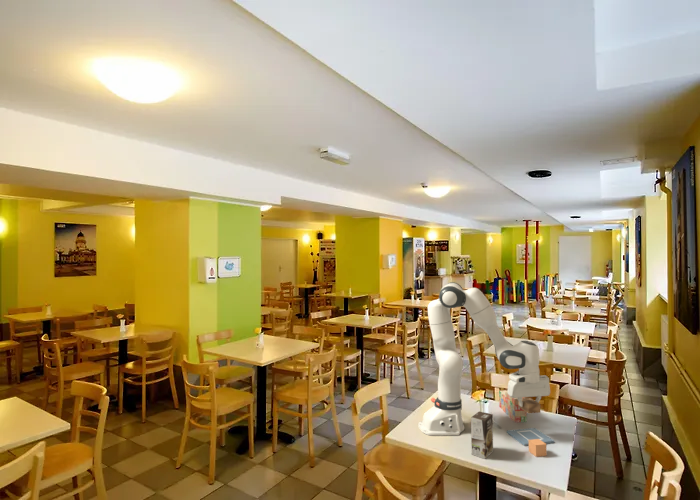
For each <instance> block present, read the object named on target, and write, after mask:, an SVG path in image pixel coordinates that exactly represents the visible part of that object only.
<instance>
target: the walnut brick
mask: <svg viewBox="0 0 700 500" xmlns="http://www.w3.org/2000/svg"><path fill="white" fill-rule="evenodd" d="M522 402H524V407H521V406H520V405H519V401H518V407H519V408H521V409H522V410H524V411H525V412H527V414H541V403H540V402H539V403H538V402H536V401H535V400H534V399H533V398H532V397H525V398H522Z"/></svg>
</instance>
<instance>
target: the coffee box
mask: <svg viewBox="0 0 700 500" xmlns="http://www.w3.org/2000/svg"><path fill="white" fill-rule="evenodd" d="M493 416H494V415H493V414H492V413H488V412H483V411H478V412H476V413H475V414H473V415H472V416H471V419H470V420H471V421H470V422H471V423H470V424H471V425H470V427H471V429H470V430H471V431H470V432H471V433H470V434H471V435H470V436H471V437H470V438H471V443H470V444H471V447H470V448H471V451H470V452H471V455H472V456H476V457H478V458H481V459H484V460H485V459H487V458H488V457H489V455H491V454H492V453H493V452H494V434H493V433H494V427H493V426H494V418H493Z"/></svg>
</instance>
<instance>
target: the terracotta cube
mask: <svg viewBox="0 0 700 500" xmlns="http://www.w3.org/2000/svg"><path fill="white" fill-rule="evenodd" d="M528 452H529V453H530V454H531V455H533V456H534V457H536V458H537V457H538V458H539V457H547V444H545V443H544V442H543V441H541V440H540V439H533V440H529V446H528Z"/></svg>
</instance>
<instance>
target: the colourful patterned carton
mask: <svg viewBox="0 0 700 500" xmlns="http://www.w3.org/2000/svg"><path fill="white" fill-rule="evenodd" d="M522 398H526V397H522ZM498 402H499V403H498V404H499V405H498V406H499V408H500V409H501V410H502V411H503V412H504V413H505V414H506V415H507V416H508V417H509V418H510V419H511V420H512V421H513V422H514V423H527V421H528V417H527V414H528V413H527V412H525V411H524V410H522V409H521V408H519V407H518V399H517V398H512V397H510V396H509V395H508V389H507V390H505V389H504V390H498Z"/></svg>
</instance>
